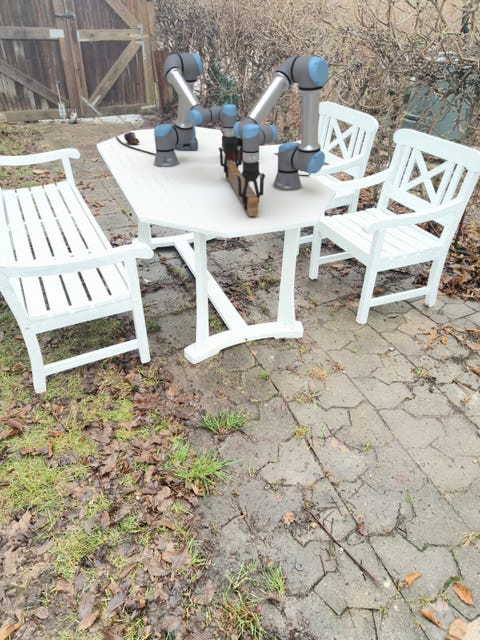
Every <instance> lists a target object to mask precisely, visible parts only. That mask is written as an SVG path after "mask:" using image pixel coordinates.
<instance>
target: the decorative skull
mask: <svg viewBox="0 0 480 640" xmlns="http://www.w3.org/2000/svg"><path fill="white" fill-rule="evenodd" d="M220 133H221V134H222V135H221V147H223V145H224V136H225V135H223V129H220ZM237 145H238V146H241V147H242V151H241V162H243V139H240V138H237ZM238 151H239V150H238V148H237V149H236V151H235V153H236V158H237V162H238ZM222 153H223V154H224V155H225V154H226V151H225V150H224V149H223V151H222ZM227 161H233V162H235V160H234V156H233V153H229V155H228V160H227Z"/></svg>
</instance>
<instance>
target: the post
mask: <svg viewBox="0 0 480 640" xmlns="http://www.w3.org/2000/svg"><path fill="white" fill-rule="evenodd" d="M226 166H227V167H228V179H227V181H228V182H229V185H230V186H231V188H232V190H233V191H234V193H235V194H236V196H237V198H238V200H239V201H240V204H241V205H242V207H243V208H244V204H243V203H242V197H239V195H238V179H237V175H240V174H242V172H241V171H240V170H239V167H238V168H237V167H236V165H235V161H232V160H230V161H228V160H227V165H226ZM224 174H225V176H226V173H224ZM244 183H245V179H244V177H242V179H241V189H242V192H243V187H244ZM246 198H247V211H245V212H246V213H247V215H248V217H254V216H259V203H258V197H257V196H256V192H255V190H253V188H252V187H251V185H250V183H249V184H248V187H247V191H246Z"/></svg>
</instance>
